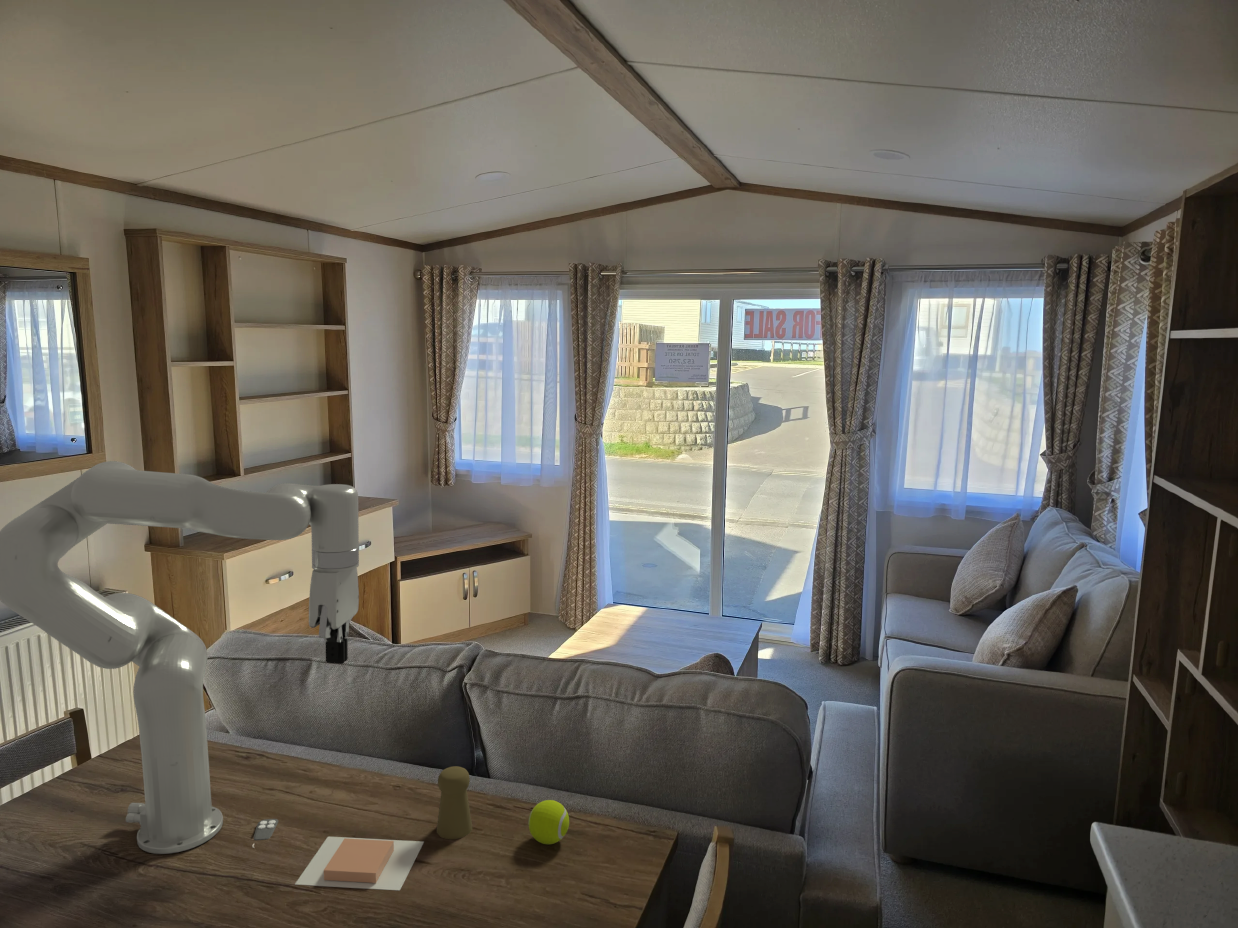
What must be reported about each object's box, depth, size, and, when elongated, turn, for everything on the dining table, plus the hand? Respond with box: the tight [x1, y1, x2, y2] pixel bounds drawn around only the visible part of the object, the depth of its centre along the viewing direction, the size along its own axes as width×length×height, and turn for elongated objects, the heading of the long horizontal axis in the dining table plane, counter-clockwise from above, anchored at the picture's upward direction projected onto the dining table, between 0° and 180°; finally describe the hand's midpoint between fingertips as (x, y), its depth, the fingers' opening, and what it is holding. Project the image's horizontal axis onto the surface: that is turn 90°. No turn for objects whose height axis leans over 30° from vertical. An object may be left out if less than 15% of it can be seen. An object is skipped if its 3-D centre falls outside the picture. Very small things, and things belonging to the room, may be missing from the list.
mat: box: [294, 836, 425, 892], centre depth 129 cm, size 16×12×1 cm
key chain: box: [251, 818, 279, 849], centre depth 134 cm, size 13×4×2 cm, turn 11°
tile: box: [324, 837, 394, 883], centre depth 128 cm, size 8×2×8 cm
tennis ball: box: [528, 799, 570, 845], centre depth 136 cm, size 7×7×7 cm
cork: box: [436, 765, 473, 840], centre depth 138 cm, size 6×6×11 cm
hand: (336, 661), depth 143 cm, fingers closed
